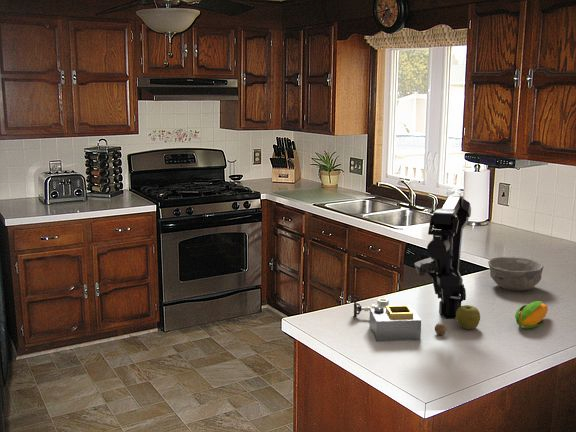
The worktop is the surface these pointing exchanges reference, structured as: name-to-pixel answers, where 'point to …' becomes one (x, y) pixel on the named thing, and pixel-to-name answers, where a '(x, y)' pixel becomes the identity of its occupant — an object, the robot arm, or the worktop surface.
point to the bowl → (515, 272)
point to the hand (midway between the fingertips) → (440, 298)
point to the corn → (531, 314)
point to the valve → (380, 302)
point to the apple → (468, 317)
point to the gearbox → (395, 323)
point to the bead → (440, 328)
